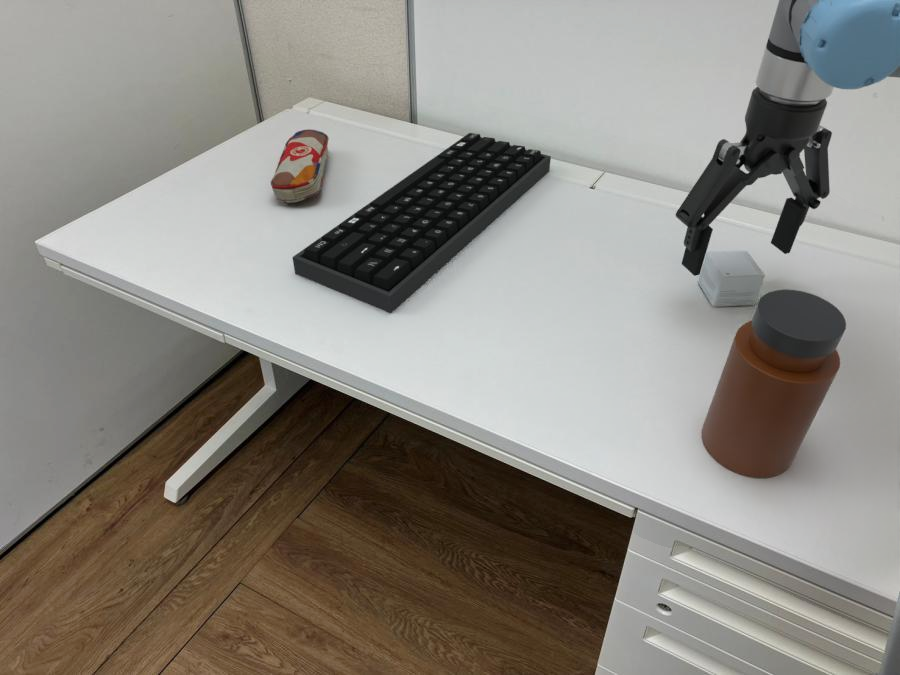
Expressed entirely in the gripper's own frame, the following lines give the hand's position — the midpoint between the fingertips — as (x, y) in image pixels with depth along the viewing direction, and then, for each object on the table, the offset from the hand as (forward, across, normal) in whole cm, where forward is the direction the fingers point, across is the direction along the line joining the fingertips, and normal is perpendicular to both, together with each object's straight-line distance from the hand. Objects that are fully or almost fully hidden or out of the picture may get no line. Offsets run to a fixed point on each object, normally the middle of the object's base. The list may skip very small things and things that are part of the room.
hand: (736, 258), depth 88 cm
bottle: (+5, +14, +22) cm, 27 cm away
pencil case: (+6, +45, -50) cm, 67 cm away
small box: (+6, 0, 0) cm, 6 cm away
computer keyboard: (+6, +29, -31) cm, 43 cm away
